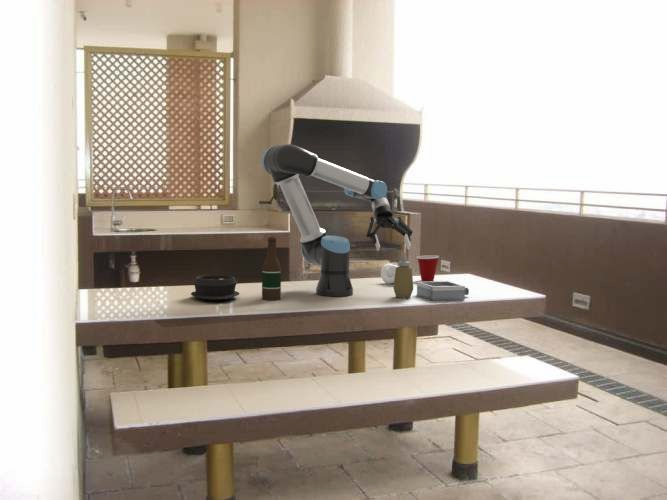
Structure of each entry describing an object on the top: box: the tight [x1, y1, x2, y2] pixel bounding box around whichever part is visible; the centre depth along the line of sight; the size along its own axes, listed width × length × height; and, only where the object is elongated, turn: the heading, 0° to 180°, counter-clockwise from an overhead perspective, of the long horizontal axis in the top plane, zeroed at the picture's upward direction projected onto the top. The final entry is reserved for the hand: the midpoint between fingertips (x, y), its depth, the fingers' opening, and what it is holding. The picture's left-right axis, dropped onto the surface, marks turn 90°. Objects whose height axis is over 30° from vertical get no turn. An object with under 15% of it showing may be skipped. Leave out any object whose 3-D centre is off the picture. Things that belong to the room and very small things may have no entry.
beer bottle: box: [261, 236, 282, 301], centre depth 261 cm, size 8×8×24 cm
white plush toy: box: [380, 263, 399, 285], centre depth 312 cm, size 11×12×9 cm
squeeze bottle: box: [393, 252, 414, 299], centre depth 271 cm, size 8×8×18 cm
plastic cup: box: [416, 254, 440, 282], centre depth 324 cm, size 11×11×12 cm
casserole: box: [190, 274, 240, 302], centre depth 260 cm, size 25×19×8 cm
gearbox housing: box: [416, 280, 470, 302], centre depth 274 cm, size 19×15×6 cm
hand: (394, 248), depth 281 cm, fingers open, 13 cm apart
